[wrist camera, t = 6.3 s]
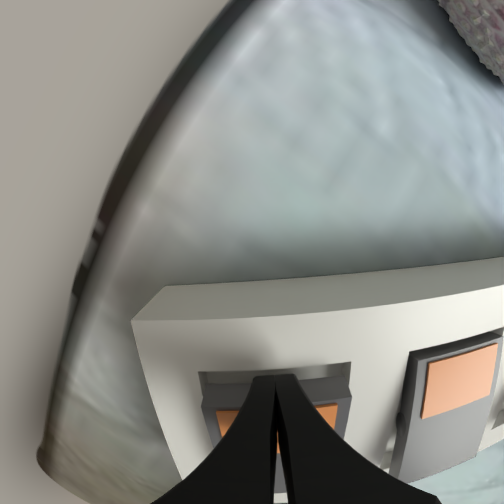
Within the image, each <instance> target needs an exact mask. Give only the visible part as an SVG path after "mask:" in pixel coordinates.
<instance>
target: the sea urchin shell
mask: <svg viewBox="0 0 504 504" xmlns="http://www.w3.org/2000/svg"><path fill="white" fill-rule="evenodd" d="M437 1H439V6H441V7H442V8H444V9H445V10H446V12H447V13H448V14H449V16H450V17H449V21H450V22H452V23H453V24H454V27H455V28H456V29H457V30H458V33H459V35H460V36H461V37H463V38H464V39H465V41H466V44H467V45H468V46H470V47H471V48H472V51H474V52H476V54H477V55H478V56H479V59H480V62H481V63H483V64H485V65H486V68H487V69H490V70H492V72H493V74H494V75H497V76H499V77H500V79H501V81H502V84H504V0H437Z"/></svg>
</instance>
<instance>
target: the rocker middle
mask: <svg viewBox="0 0 504 504" xmlns="http://www.w3.org/2000/svg"><path fill="white" fill-rule="evenodd" d="M503 338H504V336H502V335H499V334H496V333H493V332H490V331H488V332H485V333H482V334H478V335H475V336H471V337H468V338H464V339H460V340H457V341H453V342H449V343H445V344H441V345H436V346H432V347H428V348H423V349H419V350H414V351H409V355H408V361H407V367H406V372H405V377H404V382H403V390H402V399H401V407H400V412H399V413H398V414H397V417H396V428H397V433H396V439H395V444H394V450H393V455H392V459H391V464H390V468H389V473H388V474H390V475H392V476H393V477H395V478H397V479H399V480H401V481H403V482H404V483H406V484H408V483H411V482H414V481H417V480H420V479H423V478H426V477H428V476H431V475H434V474H436V473H439V472H442V471H444V470H447V469H449V468H451V467H454V466H456V465H458V464H461V463H463V462H465V461H467V460H470V459H472V458H474V457H476V454H477V452H478V449H479V446H480V443H481V440H482V437H483V434H484V430H485V427H486V424H487V420H488V417H489V413H490V409H491V405H492V401H493V397H494V392H495V388H496V383H497V378H498V372H499V367H500V361H501V354H502V347H503Z"/></svg>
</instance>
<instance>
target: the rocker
mask: <svg viewBox="0 0 504 504" xmlns="http://www.w3.org/2000/svg"><path fill="white" fill-rule="evenodd" d="M298 381H299V383H300V385H301V387H302V388H303V390H304V392H305V393H306V395H307V396H308V398H309V399H310V401H311V402H312V404H313V405H314V406H315V408H316V409H317V410H318V412H319V413H320V414H321V416H322V417H323V418H324V419H325V420H326V422H327V423H328V424H329V425H330V426H331V427H332V428H333V429H334V431H335V432H336V433H337V434H338V435H339V436H340V437H341V438H342V439H343V440H344V436H345V431H346V426H347V422H348V417H349V411H350V406H351V400H352V395H351V392H350V389H349V386H348V383H347V380H346V378H345V375H339V376H332V377H323V378H314V379H304V380H298ZM251 384H252V383H239V384H206V386H205V390H204V395H203V399H202V403H201V409H202V413H203V416H204V420H205V423H206V426H207V430H208V433H209V436H210V440H211V443H212V446H213V449H214V448H215V447H216V445H217V444H218V443H219V441H220V440H221V439H222V437H223V436H224V435H225V433H226V432H227V430H228V429H229V427H230V426H231V424H232V423H233V421H234V419H235V418H236V416H237V414H238V412H239V410H240V409H241V407H242V405H243V403H244V401H245V399H246V397H247V394H248V392H249V390H250V387H251ZM275 392H276V391H275ZM276 413H277V409H276ZM277 437H278V432H277ZM274 493H287V491H286V485H285V479H284V474H283V468H282V462H281V456H280V450H279V444H277V460H276V474H275V487H274Z"/></svg>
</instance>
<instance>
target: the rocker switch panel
mask: <svg viewBox="0 0 504 504" xmlns="http://www.w3.org/2000/svg"><path fill="white" fill-rule="evenodd" d="M131 325H132V329H133V333H134V337H135V341H136V345H137V349H138V353H139V357H140V361H141V364H142V368H143V372H144V375H145V378H146V382H147V385H148V388H149V392H150V395H151V398H152V401H153V404H154V407H155V410H156V413H157V416H158V419H159V422H160V425H161V428H162V430H163V433H164V436H165V439H166V441H167V444H168V446H169V449H170V452H171V454H172V457H173V459H174V461H175V464H176V466H177V469H178V471H179V473H180V476H181V478H182V480H183V479H185V478H186V477H187V476H188V475H189V474H190V473H191V472H192V471H193V470H194V469H195V468H196V467H197V466H198V465H199V464H200V463H201V462H202V461H203V460H204V459H205V458H206V457H207V456H208V455H209V454H210V453H211V451H212V450H213V446H212V443H211V440H210V436H209V433H208V430H207V426H206V423H205V420H204V416H203V413H202V409H201V403H202V399H203V395H204V390H205V386H206V384H239V383H252V380H253V378H254V377H255V376H264V375H274V377H275V375H279V374H292V373H293V374H295V375H296V376H297V379H298V380H304V379H314V378H323V377H332V376H339V375H345V378H346V380H347V383H348V386H349V389H350V392H351V395H352V400H351V406H350V411H349V417H348V422H347V426H346V431H345V436H344V441H346V442H347V443H348V444H349V445H350V446H351V447H352V448H353V449H355V450H356V451H357V452H358V453H359V454H361V455H362V456H363V457H364V458H366V459H367V460H369V461H370V462H372V463H373V464H375V465H376V466H378V467H379V468H381V469H382V470H384V471H385V472H387V473H389V468H390V464H391V459H392V455H393V450H394V444H395V439H396V433H397V428H396V417H397V414H398V413H399V412H400V407H401V399H402V390H403V382H404V377H405V372H406V367H407V361H408V355H409V351H414V350H419V349H423V348H428V347H432V346H436V345H441V344H445V343H449V342H453V341H457V340H460V339H464V338H468V337H471V336H475V335H478V334H482V333H485V332H488V331H490V332H493V333H496V334H499V335H502V336H504V257H498V258H490V259H483V260H475V261H467V262H458V263H450V264H441V265H432V266H423V267H414V268H404V269H394V270H384V271H374V272H363V273H352V274H341V275H329V276H317V277H304V278H290V279H277V280H262V281H247V282H230V283H213V284H194V285H173V286H164V287H163V288H162V289H161V290H160V291H159V292H158V293H157V294H156V295H155V296H154V297H153V298H152V299H151V300H150V301H149V302H148V303H147V304H146V305H145V306H144V307H143V308H142V309H141V310H140V311H139V312H138V313H137V314H136V315H135V316H134V317H133V318H132V319H131ZM502 439H504V338H503V347H502V354H501V361H500V367H499V372H498V378H497V383H496V388H495V392H494V397H493V401H492V405H491V409H490V413H489V417H488V420H487V424H486V427H485V430H484V434H483V437H482V440H481V443H480V446H479V449H478V452H479V451H481V450H483V449H485V448H487V447H489V446H491V445H493V444H495V443H497V442H499V441H500V440H502ZM274 503H288V499H287V493H274Z"/></svg>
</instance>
